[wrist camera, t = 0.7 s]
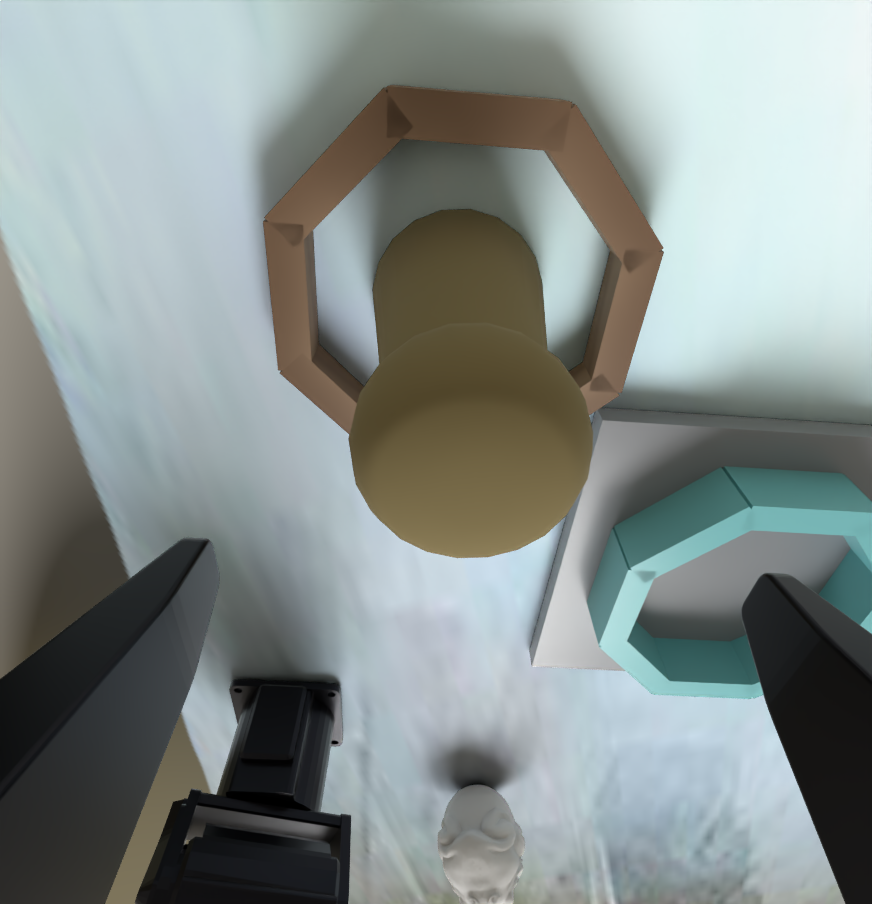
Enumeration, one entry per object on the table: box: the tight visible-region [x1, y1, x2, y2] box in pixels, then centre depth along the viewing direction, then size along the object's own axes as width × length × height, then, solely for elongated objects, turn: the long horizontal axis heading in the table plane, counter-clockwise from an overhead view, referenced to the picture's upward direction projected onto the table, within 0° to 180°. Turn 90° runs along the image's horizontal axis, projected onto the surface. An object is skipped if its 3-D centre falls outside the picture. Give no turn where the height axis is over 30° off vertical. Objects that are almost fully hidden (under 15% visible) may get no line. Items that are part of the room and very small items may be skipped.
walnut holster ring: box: [263, 85, 664, 435], centre depth 19 cm, size 12×12×2 cm
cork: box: [349, 209, 593, 558], centre depth 15 cm, size 6×6×11 cm
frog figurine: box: [438, 785, 525, 904], centre depth 38 cm, size 6×7×7 cm
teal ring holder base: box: [529, 408, 872, 699], centre depth 26 cm, size 16×16×4 cm
